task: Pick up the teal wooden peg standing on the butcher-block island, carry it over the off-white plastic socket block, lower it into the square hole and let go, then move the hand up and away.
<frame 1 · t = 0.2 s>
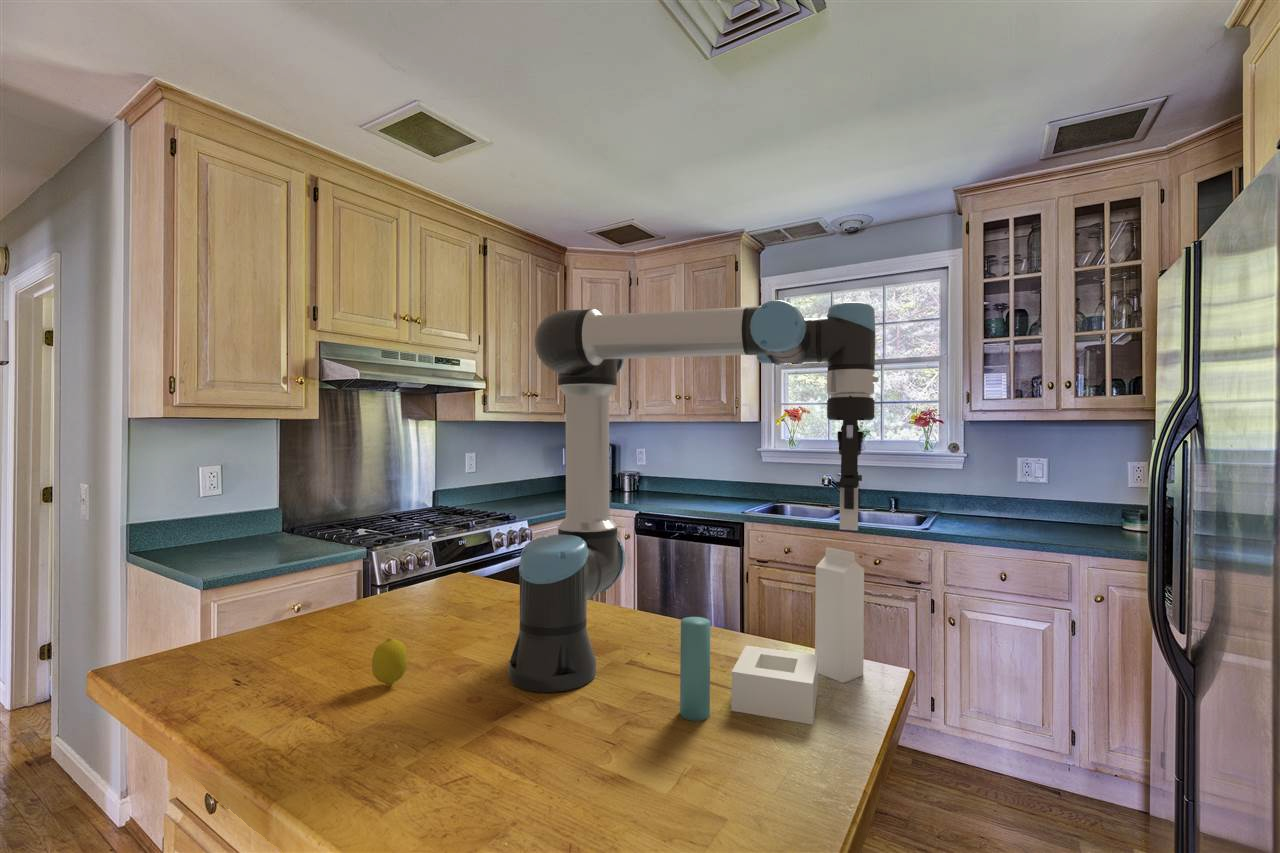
hand: (849, 523, 101), 28 cm above the counter, tool pointing down, fingers open, 13 cm apart
socket: (776, 700, 96), on the counter
milk: (839, 674, 107), on the counter
lemon: (389, 687, 100), on the counter
peg: (694, 713, 91), on the counter
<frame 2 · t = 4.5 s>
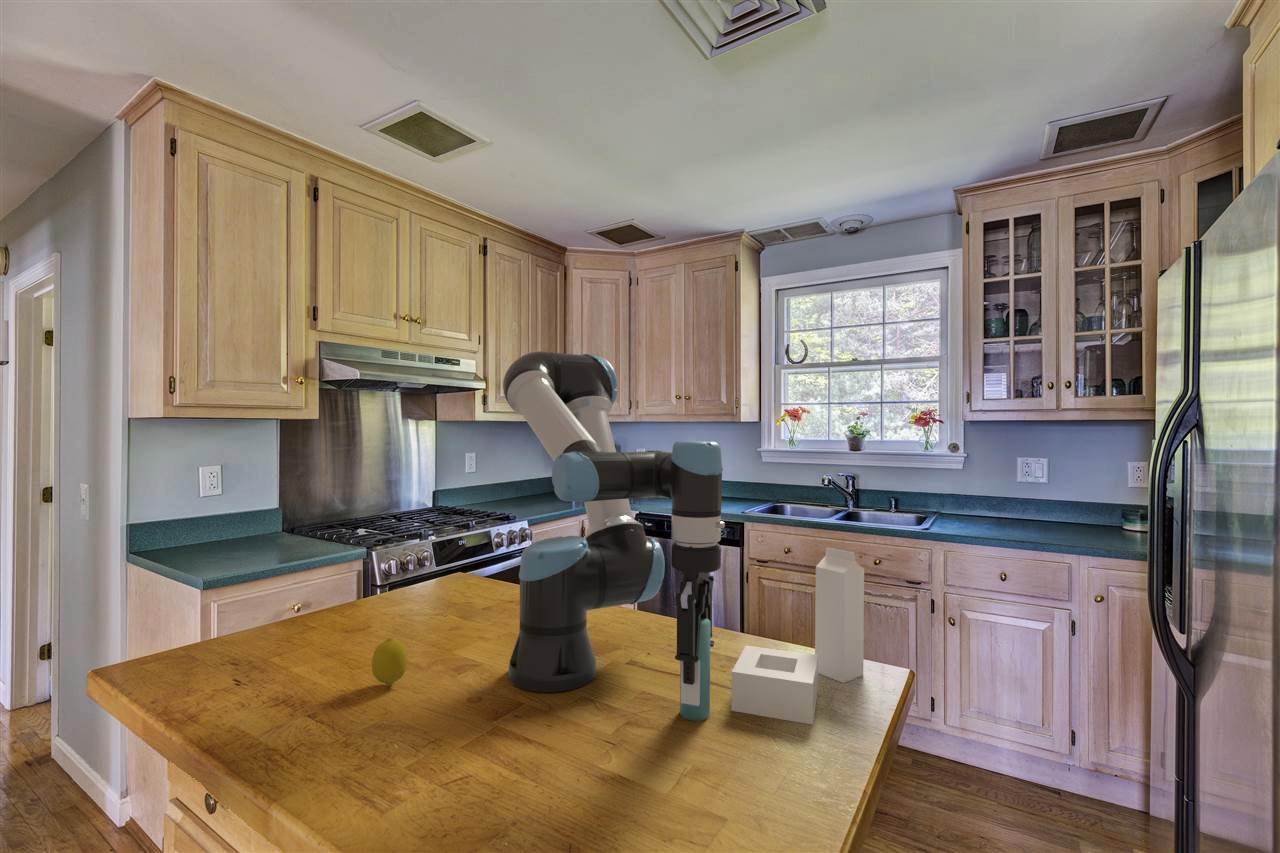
hand: (694, 695, 91), 3 cm above the counter, tool pointing down, fingers closed on peg, 4 cm apart
peg: (694, 713, 91), on the counter, touching gripper
everything else where it was.
when the fingers open (8 cm above the counter, at t = 9.4 s): peg drops 4 cm, resting in socket.
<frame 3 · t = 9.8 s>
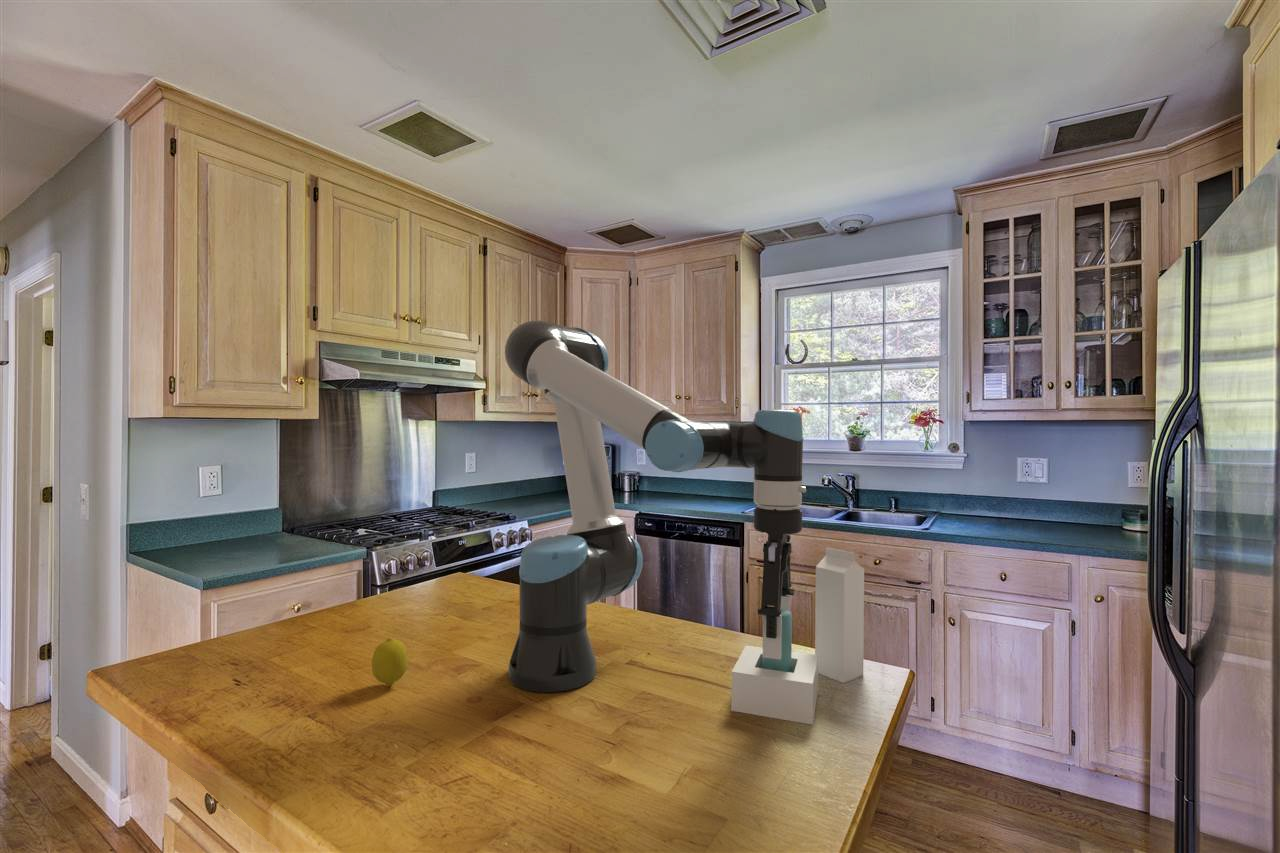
hand: (776, 645, 96), 9 cm above the counter, tool pointing down, fingers open, 10 cm apart
peg: (776, 700, 96), resting in socket
everything else where it was.
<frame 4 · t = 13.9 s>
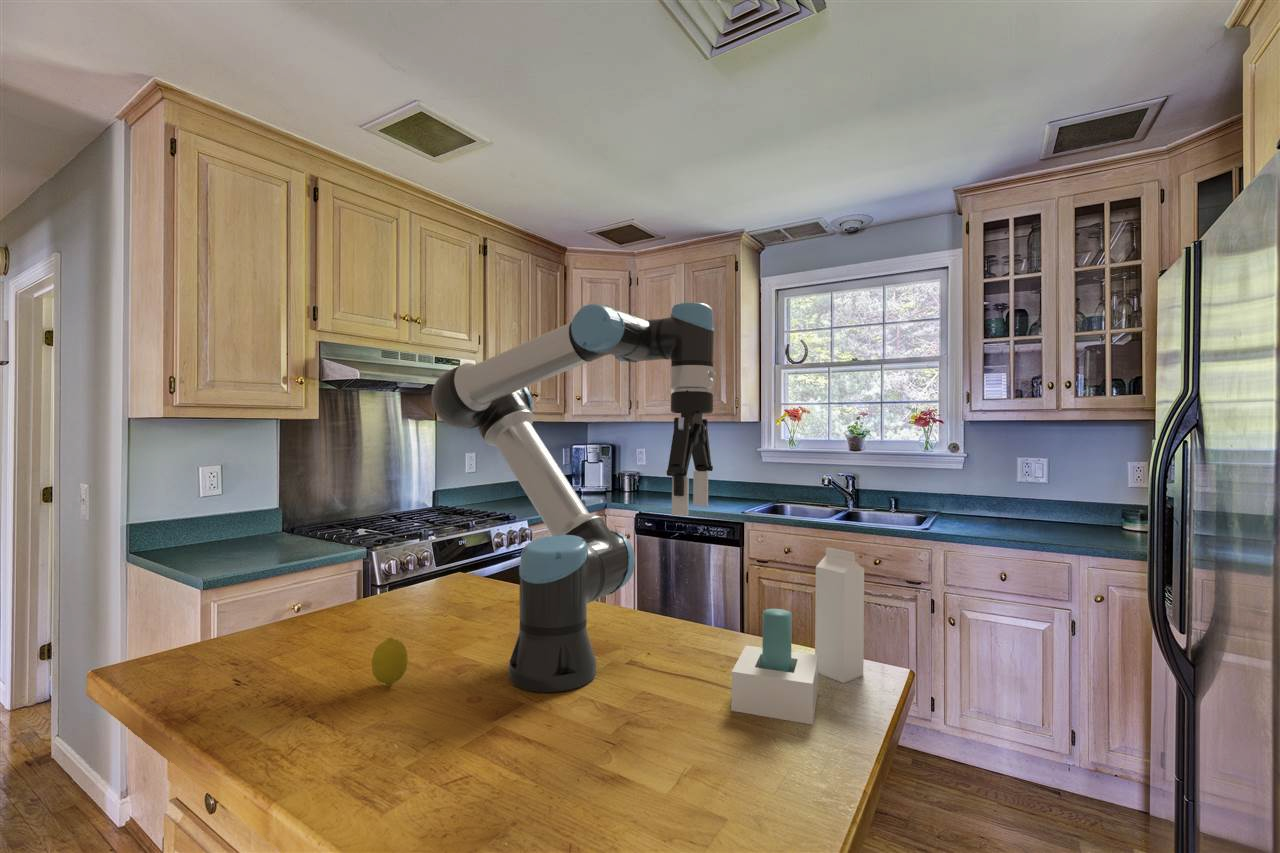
hand: (690, 510, 107), 29 cm above the counter, tool pointing down, fingers open, 13 cm apart
nothing on the counter moved.
at the end: peg 0.0 cm off-centre on the socket, point 0.0 cm above the socket's base; peg tilted 0°; the gripper is holding nothing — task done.
